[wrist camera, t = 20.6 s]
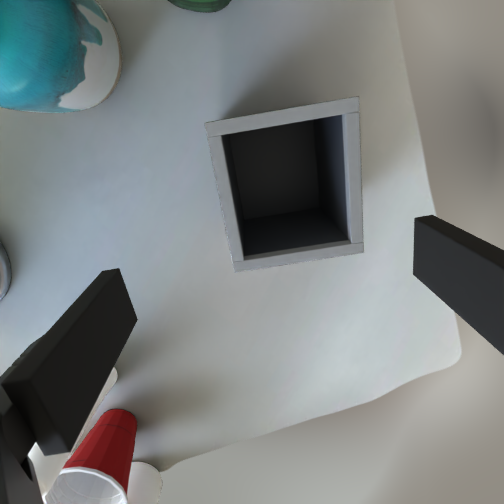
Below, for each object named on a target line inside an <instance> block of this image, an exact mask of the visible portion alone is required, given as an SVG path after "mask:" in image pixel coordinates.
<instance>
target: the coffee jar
mask: <svg viewBox="0 0 504 504" xmlns="http://www.w3.org/2000/svg"><path fill="white" fill-rule="evenodd" d="M168 1H169V2H171V3H172V4H174V5H176V6H178V7H181V8H183V9H188V10H192V11H197V12H216V11H219V10H221V9H223V8H224V7H226V6H227V5H228V4H229V3H230V1H231V0H168Z"/></svg>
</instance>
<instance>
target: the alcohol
mask: <svg viewBox="0 0 504 504" xmlns="http://www.w3.org/2000/svg"><path fill="white" fill-rule="evenodd" d="M161 488H162V479H161V476H160V473H159V472H158V470H157V469H156V468H155V467H153V466H152V465H150V464H147V463H144V462H132V464H131V469H130V475H129V484H128V491H127V497H128V503H127V504H158V502H159V497H160V493H161Z"/></svg>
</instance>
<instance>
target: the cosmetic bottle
mask: <svg viewBox="0 0 504 504" xmlns="http://www.w3.org/2000/svg"><path fill="white" fill-rule="evenodd" d="M116 381H117V371H116V369H115V367H113V369H112V371H111V373H110V375H109V377H108V379H107V381H106V383H105V385H104V387H103V389H102V391H101V393H100V395H99V397H98V399H97V401H96V403H95V405H94V407H93V409H92V411H91V413H90V415H89V417H88V419H87V421H86V423H85V424H84V426H83V428H82V430H81V432H80V434H79V436H78V438H77V440H76V442H75V444H74V446H73V448H72V450H71V452H69V453H62V454H56V455H49V456H44V454H43V453H42V451H41V449H40V448H39V446H38V445H37V443H35V444H34V446H33V447H32V449H31V450H30V452H29V454H28V456H29V458H30V459H31V461H32V462H33V465H34V469H35V473H36V476H37V480H38V484H39V488H40V492H41V495H42V498H43V497H44V496H46V495H47V494H48V492H49V490H50V489H51V487H52V485H53V484H54V482H55V480H56V479H57V477H58V475H59V474H60V472H61V470H62V468H63V467H64V465H65V463H66V461H67V460H68V458H69V456H70V454H71V453H72V451H73V449H74V447H75V446H76V444H77V442H78V440H79V439H80V437H81V435H82V433H83V432H84V430H85V428H86V426H87V425H88V423H89V421H90V420H91V418H92V416H93V415H94V413H95V411H96V410H97V408H98V406H99V405H100V403H101V402H102V400H103V399H104V397H105V396H106V395H107V393H108V392H109V390H110V389H111V388H112V386H113V385H114V384H115V383H116Z"/></svg>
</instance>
